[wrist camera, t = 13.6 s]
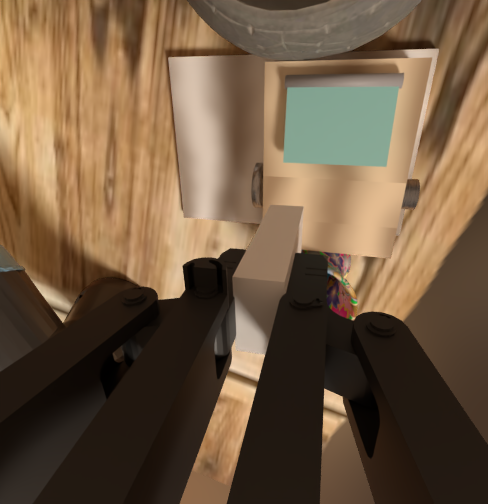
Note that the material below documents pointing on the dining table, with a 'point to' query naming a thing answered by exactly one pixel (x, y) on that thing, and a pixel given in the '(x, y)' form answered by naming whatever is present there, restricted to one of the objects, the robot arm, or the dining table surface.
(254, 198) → the pin
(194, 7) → the bowl
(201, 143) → the block
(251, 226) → the dining table surface
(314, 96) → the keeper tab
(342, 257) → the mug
